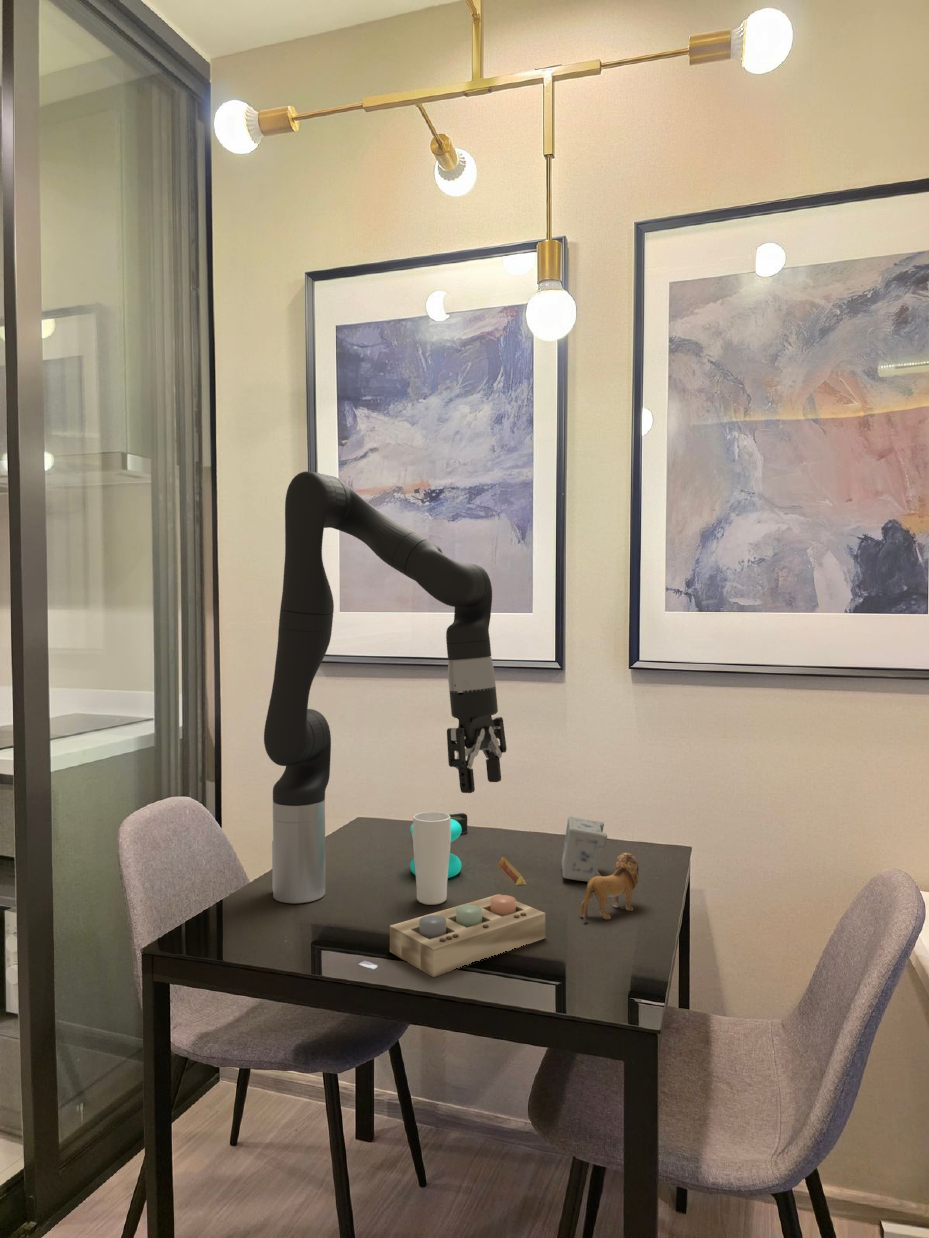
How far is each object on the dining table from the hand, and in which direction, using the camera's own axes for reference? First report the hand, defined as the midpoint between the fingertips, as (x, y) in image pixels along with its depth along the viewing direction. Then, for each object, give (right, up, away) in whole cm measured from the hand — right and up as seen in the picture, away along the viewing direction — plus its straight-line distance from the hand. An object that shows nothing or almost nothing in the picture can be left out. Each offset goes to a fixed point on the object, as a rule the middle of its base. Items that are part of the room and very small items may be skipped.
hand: (481, 786), depth 137 cm
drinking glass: (-9, -23, +14) cm, 28 cm away
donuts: (-8, -23, +29) cm, 38 cm away
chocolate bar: (+6, -23, +28) cm, 37 cm away
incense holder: (+20, -23, +27) cm, 41 cm away
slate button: (-7, -21, -10) cm, 24 cm away
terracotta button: (+3, -21, -1) cm, 21 cm away
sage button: (-2, -21, -6) cm, 22 cm away
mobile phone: (-8, -22, +53) cm, 58 cm away
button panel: (-2, -23, -5) cm, 24 cm away
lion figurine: (+22, -23, +9) cm, 33 cm away
